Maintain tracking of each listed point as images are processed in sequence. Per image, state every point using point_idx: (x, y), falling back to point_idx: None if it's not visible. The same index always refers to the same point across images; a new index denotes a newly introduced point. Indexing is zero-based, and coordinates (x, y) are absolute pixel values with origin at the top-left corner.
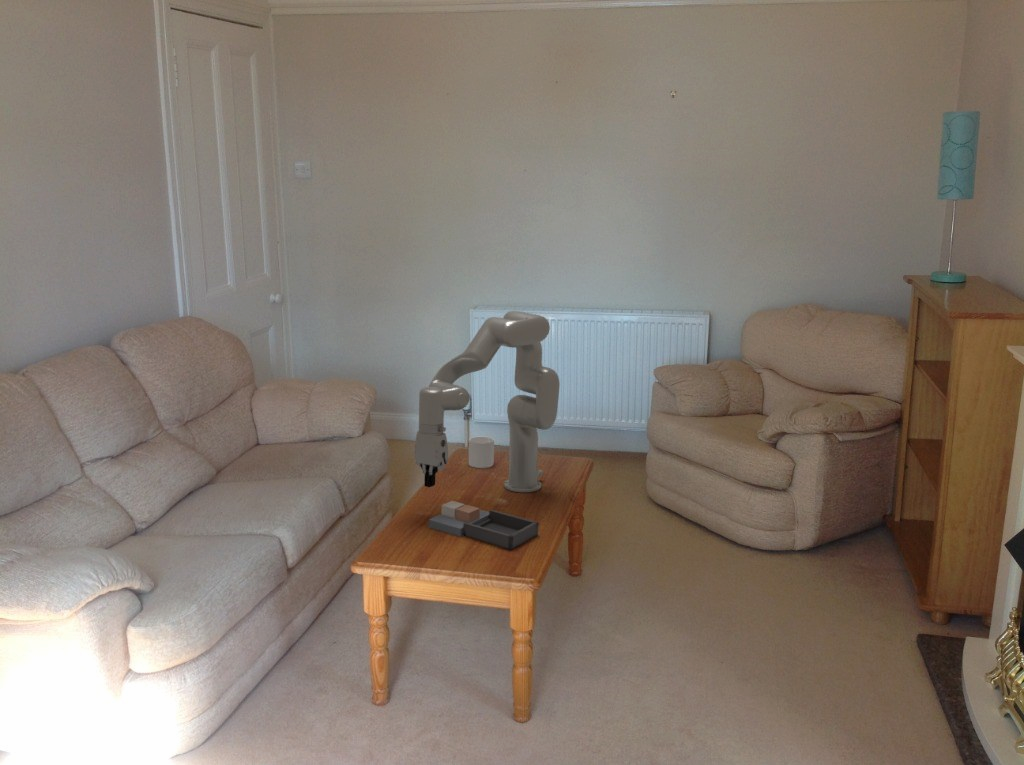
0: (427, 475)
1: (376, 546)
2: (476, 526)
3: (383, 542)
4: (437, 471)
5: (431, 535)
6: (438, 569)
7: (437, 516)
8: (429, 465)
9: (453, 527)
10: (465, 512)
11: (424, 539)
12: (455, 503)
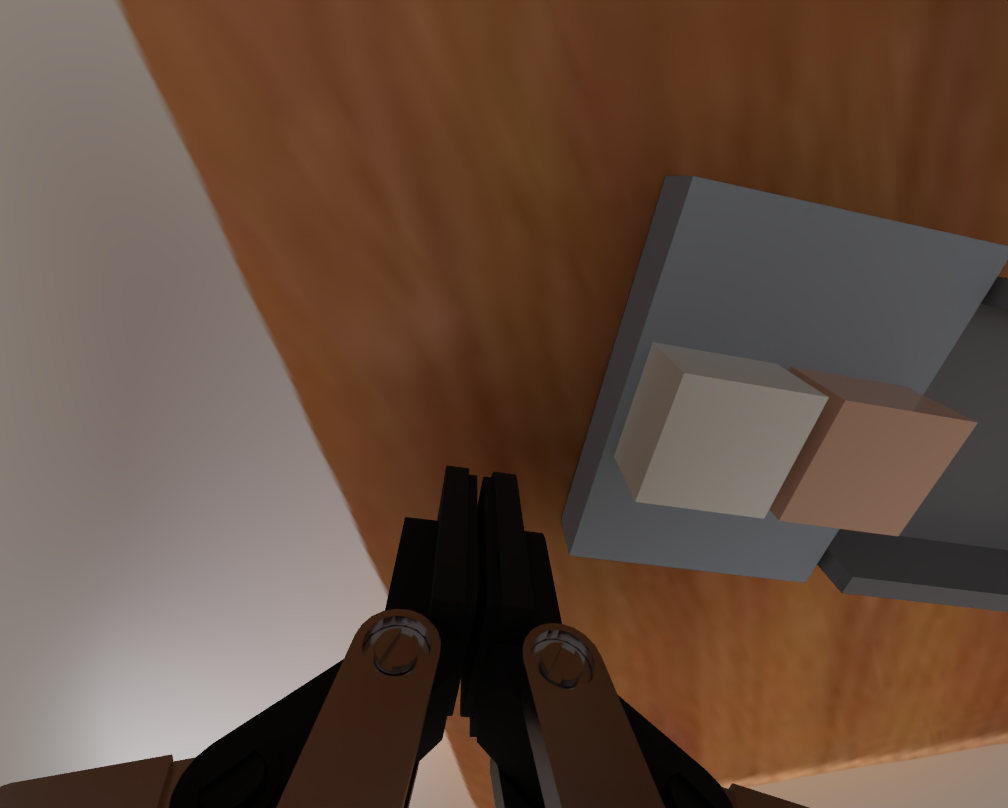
0: (471, 724)
1: (453, 746)
2: (932, 598)
3: (454, 715)
4: (638, 727)
5: (622, 589)
6: (763, 777)
7: (601, 494)
8: (390, 792)
9: (754, 574)
10: (860, 529)
11: (609, 633)
12: (740, 419)
